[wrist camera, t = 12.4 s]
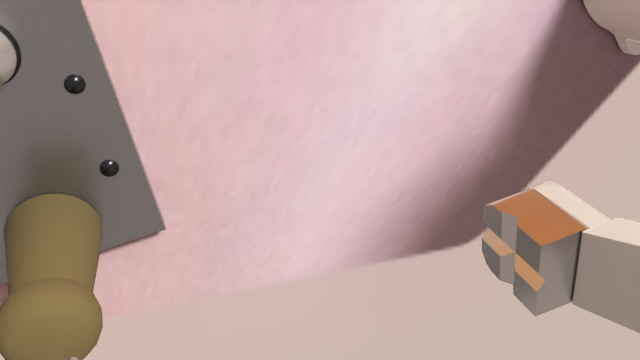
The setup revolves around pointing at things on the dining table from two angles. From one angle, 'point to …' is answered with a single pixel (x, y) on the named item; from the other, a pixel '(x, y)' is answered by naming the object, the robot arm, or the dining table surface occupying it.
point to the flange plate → (67, 124)
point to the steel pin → (7, 58)
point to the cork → (51, 279)
